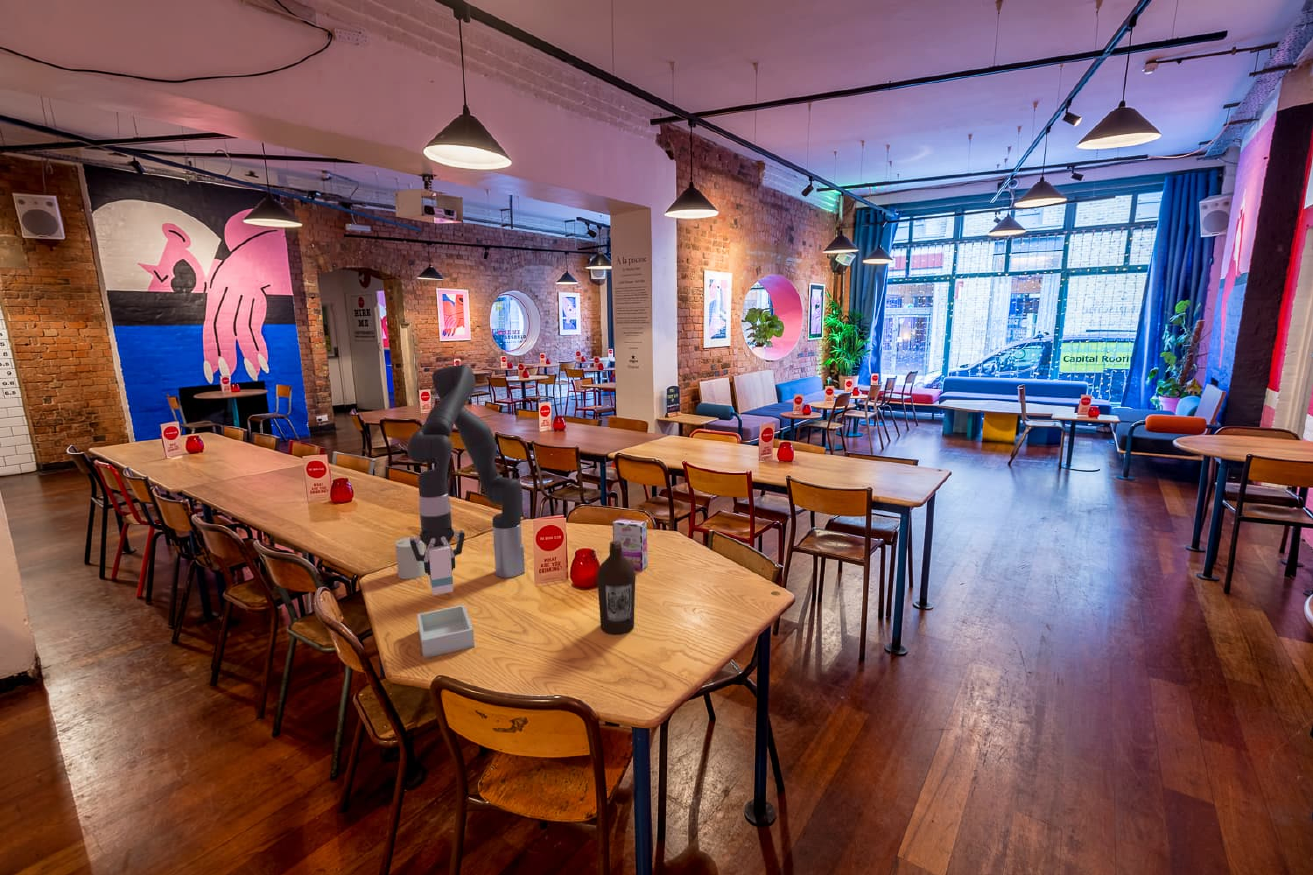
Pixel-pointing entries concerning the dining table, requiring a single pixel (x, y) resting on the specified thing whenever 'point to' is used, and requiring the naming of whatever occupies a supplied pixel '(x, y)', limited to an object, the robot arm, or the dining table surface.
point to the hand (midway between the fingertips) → (440, 571)
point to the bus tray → (445, 631)
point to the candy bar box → (632, 541)
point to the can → (409, 559)
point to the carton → (440, 570)
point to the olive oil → (616, 592)
